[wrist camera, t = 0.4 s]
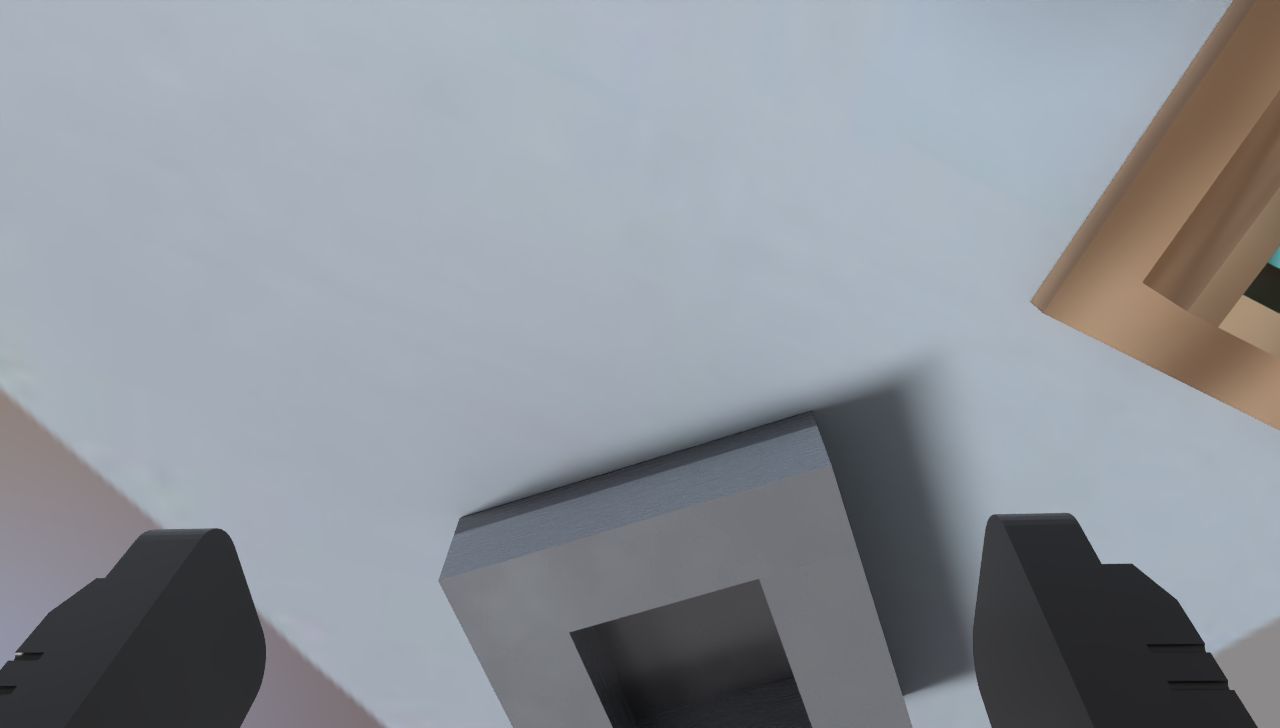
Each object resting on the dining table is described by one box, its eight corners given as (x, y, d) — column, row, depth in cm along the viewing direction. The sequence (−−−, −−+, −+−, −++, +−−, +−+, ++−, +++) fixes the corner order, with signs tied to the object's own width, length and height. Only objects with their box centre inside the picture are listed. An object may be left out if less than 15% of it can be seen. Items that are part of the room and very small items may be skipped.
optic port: (459, 518, 32) (438, 580, 29) (811, 411, 30) (831, 464, 27) (586, 780, 36) (580, 859, 33) (900, 697, 35) (926, 773, 31)
